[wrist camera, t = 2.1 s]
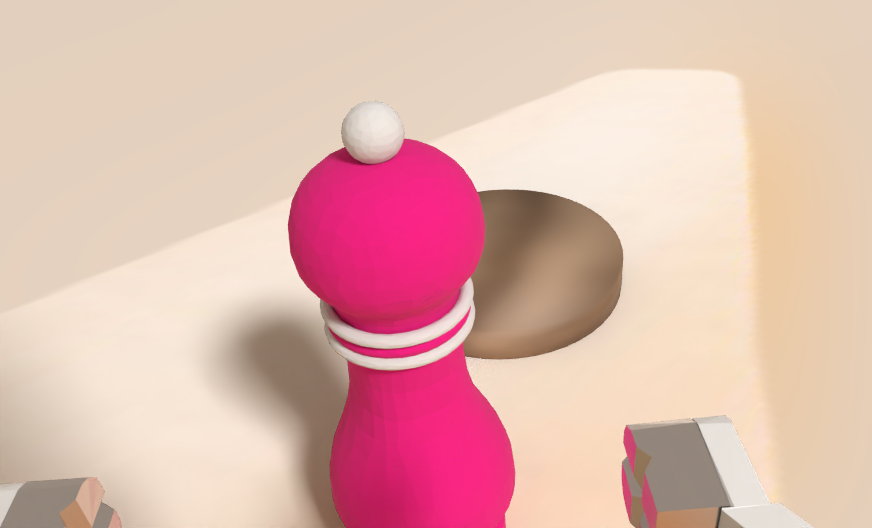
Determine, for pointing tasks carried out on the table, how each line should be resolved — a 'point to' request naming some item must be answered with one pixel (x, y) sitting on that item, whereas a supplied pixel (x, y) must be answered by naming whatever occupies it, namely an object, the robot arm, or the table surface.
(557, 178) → the table surface
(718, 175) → the table surface
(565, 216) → the walnut board
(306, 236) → the pepper mill
